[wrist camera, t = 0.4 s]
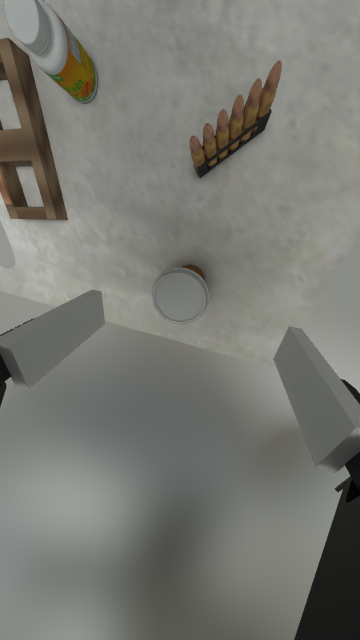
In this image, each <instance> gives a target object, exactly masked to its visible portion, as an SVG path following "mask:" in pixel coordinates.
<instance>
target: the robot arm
mask: <svg viewBox="0 0 360 640" xmlns="http://www.w3.org/2000/svg"><path fill="white" fill-rule="evenodd" d="M104 324H105V320H104V311H103V302H102V293H101V291H96V290H90V291H88V292H86V293H84V294H82V295H80V296H78V297H76V298H74V299H73V300H71V301H69V302H67V303H65V304H63V305H61V306H59V307H57V308H55V309H53V310H51V311H49V312H47V313H45V314H43V315H41V316H39V317H37V318H34V319H31V320H29V321H27V322H25V323H23V325H19V326H18V327H15V329H11V330H9V331H7V332H5V333H3V334H1V335H0V406H1V403H2V400H3V396H4V393H5V390H6V383H5V380H7V379H8V378H10V377H11V378H12V380H13V382H14V384H15V385H16V386H19V387H23V388H27V389H29V388H31V387H32V386H33V385H34V384H35V383H36V382H38V381H39V380H40V379H41V378H42V377H43V376H44V375H46V374H47V373H48V372H49V371H50V370H51V369H53V368H54V367H55V366H56V365H57V364H59V363H60V362H61V361H62V360H63V359H64V358H65V357H67V356H68V355H69V354H70V353H71V352H73V351H74V350H75V349H76V348H77V347H78V346H80V345H81V344H82V343H83V342H84V341H85V340H87V339H88V338H89V337H90V336H91V335H92V334H93V333H95V332H96V331H97V330H98V329H99V328H100V327H102V326H103V325H104ZM274 362H275V364H276V367H277V369H278V372H279V374H280V377H281V380H282V382H283V385H284V387H285V390H286V392H287V395H288V398H289V400H290V403H291V405H292V408H293V410H294V413H295V415H296V418H297V421H298V423H299V426H300V429H301V431H302V433H303V436H304V439H305V441H306V444H307V447H308V449H309V452H310V454H311V457H312V459H313V462H314V465H315V467H317V468H321V469H324V470H328V471H332V472H335V473H336V472H337V471H339V470H340V469H341V468H342V467H344V466H346V468H347V470H348V472H349V474H350V475H351V476H350V477H349V478H348V479H346V480H345V481H344V482H342V483H341V484H340V485H338V486H337V487H336V489H335V490H336V491H337V492H339V491H340V490H342V489H343V491H342V494H341V497H340V500H339V503H338V506H337V509H336V512H335V516H334V519H333V522H332V525H331V528H330V531H329V534H328V537H327V540H326V543H325V546H324V549H323V553H322V556H321V559H320V562H319V565H318V568H317V571H316V574H315V577H314V581H313V583H312V586H311V590H310V593H309V596H308V599H307V602H306V605H305V608H304V611H303V614H302V617H301V621H300V623H299V627H298V630H297V633H296V636H295V639H294V640H360V393H359V392H358V391H357V390H356V389H355V388H354V387H353V386H351V385H350V384H349V383H348V382H347V381H345V380H342V379H340V378H339V377H338V376H337V374H336V373H335V372H334V370H333V369H332V368H331V366H330V365H329V364H328V363H327V361H326V360H325V359H324V358H323V356H322V355H321V354H320V352H319V351H318V350H317V348H316V347H315V346H314V344H313V343H312V342H311V341H310V339H309V338H308V336H307V335H306V334H305V333H304V331H303V330H302V329H300V328H294V327H289V328H288V330H287V332H286V334H285V336H284V338H283V340H282V342H281V344H280V346H279V349H278V351H277V353H276V355H275V357H274Z"/></svg>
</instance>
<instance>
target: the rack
mask: <svg viewBox="0 0 360 640" xmlns="http://www.w3.org/2000/svg"><path fill="white" fill-rule="evenodd" d="M5 79H8V82H9V85H10V89H11V92H12V96H13V99H14V103H15V106H16V110H17V113H18V117H19V120H20V124H21V127H22V128H21V129H9V130H3V128H2V125H1V122H0V192H1V195H2V198H3V200H4V203H5V205H6V208H7V211H8V213H9V216H10V219H51V220H68V218H67V214H66V210H65V206H64V202H63V198H62V193H61V189H60V185H59V181H58V177H57V173H56V168H55V164H54V160H53V156H52V152H51V148H50V143H49V139H48V135H47V131H46V127H45V123H44V118H43V114H42V110H41V106H40V102H39V98H38V93H37V89H36V85H35V81H34V77H33V73H32V69H31V64H30V60H29V56H28V55H27V54H26V53H25V52H24V51H23V50H21V49H20V48H19V47H18V46H17V45H16V44H15V43H14V42H12V41H11V40H10V39H9V38H5V39H0V80H5ZM15 166H33V169H34V173H35V176H36V180H37V183H38V187H39V190H40V194H41V197H42V201H43V204H44V207H28V206H27V203H26V199H25V196H24V193H23V190H22V187H21V184H20V181H19V178H18V175H17V171H16V168H15Z"/></svg>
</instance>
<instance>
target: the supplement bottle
mask: <svg viewBox="0 0 360 640" xmlns="http://www.w3.org/2000/svg"><path fill="white" fill-rule="evenodd" d="M5 11H6V16H7V20H8V23H9V25H10V28H11V30H12V31H13V33H14V35H15V36H16V37H17V39H18V40H19V41H20V42H21V43H22V44H23V45H24V46H26V47H27V49H28V51H29V53H30V55H31V57H32V59H33V60H34V62H35V63H36V64H37V65H38V66H39V67H40V68H41V69H42V70H43V71H44V72H45V73H46V74H47V75H49V76H50V77H51V78H52V79H53V80H54V81H55V82H56V83H58V84H59V85H60V86H61V87H62V88H63V89H65V90H66V91H67V92H68V93H69V94H70V95H71V96H72V97H74V98H75V99H76V100H77V101H79V102H82V103H87V102H89V101H91V100H92V99H93V97H94V96H95V93H96V90H97V73H96V69H95V66H94V63H93V61H92V59H91V58H90V56H89V55H88V53H87V52H86V51H85V50H84V48H83V47H82V46H81V44H80V43H79V42H78V40H77V39H76V38H75V36H74V35H73V34H72V33H71V31H70V30H69V29H68V27H67V26H66V25H65V24H64V22H63V21H62V20H61V18H60V17H59V16H58V14H57V13H56V12H55V11H54V10H53V8H52V7H51V6H50V5H49V4H48V3H46V2H45V1H43V0H5Z"/></svg>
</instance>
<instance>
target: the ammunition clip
mask: <svg viewBox="0 0 360 640" xmlns="http://www.w3.org/2000/svg"><path fill="white" fill-rule="evenodd" d="M281 69H282V64H281V61H277V62H276V63H275V65H274V66H273V68H272V69H271V71H270V73H269V75H268V78H267V80H266V83H265V85H264V87H263V88H262V83H261V79H260V78H258V79H257V80H256V81H255V82H254V84H253V86H252V88H251V90H250V93H249V97H248V100H247V102H246V104H245V107H244V100H243V97H242V95H239V96H237V98H236V100H235V102H234V105H233V109H232V114H231V116H230V120H229V125H228V116H227V113H226V111H225V110H224V109H223V110H221V112H220V113H219V116H218V121H217V129H216V136H214V132H213V128H212V126H211V125H210V124H209V123H206V124H205V126H204V130H203V146H201V145H200V142H199V140H198V139H197V137H195V136H192V137H191V138H190V149H191V156H192V159H193V162H194V166H195V169H196V171H197V173H198V176H199V178H201V177H202V176H204V175H205V174H206V173H208V172H209V171H210V170H212V169H213V168H214V167H216V166H217V165H218V164H220V163H221V162H222V161H224V160H225V159H226V158H228V157H229V156H230V155H232V154H233V153H234V152H236V151H237V150H238V149H239V148H241V147H242V146H243V145H245V144H246V143H247V142H249V141H250V140H251V139H253V138H254V137H255V136H257V135H258V134H259V133H261V132H262V131H263V130H264V129H265V127H266V124H267V122H268V119H269V117H270V114H271V109H270V107H271V105H272V102H273V100H274V97H275V94H276V88H277V85H278V82H279V79H280V75H281ZM261 90H262V91H261ZM269 109H270V110H269ZM243 110H244V111H243ZM268 112H269V113H268ZM203 150H204V151H203ZM204 152H205V155H204Z"/></svg>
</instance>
